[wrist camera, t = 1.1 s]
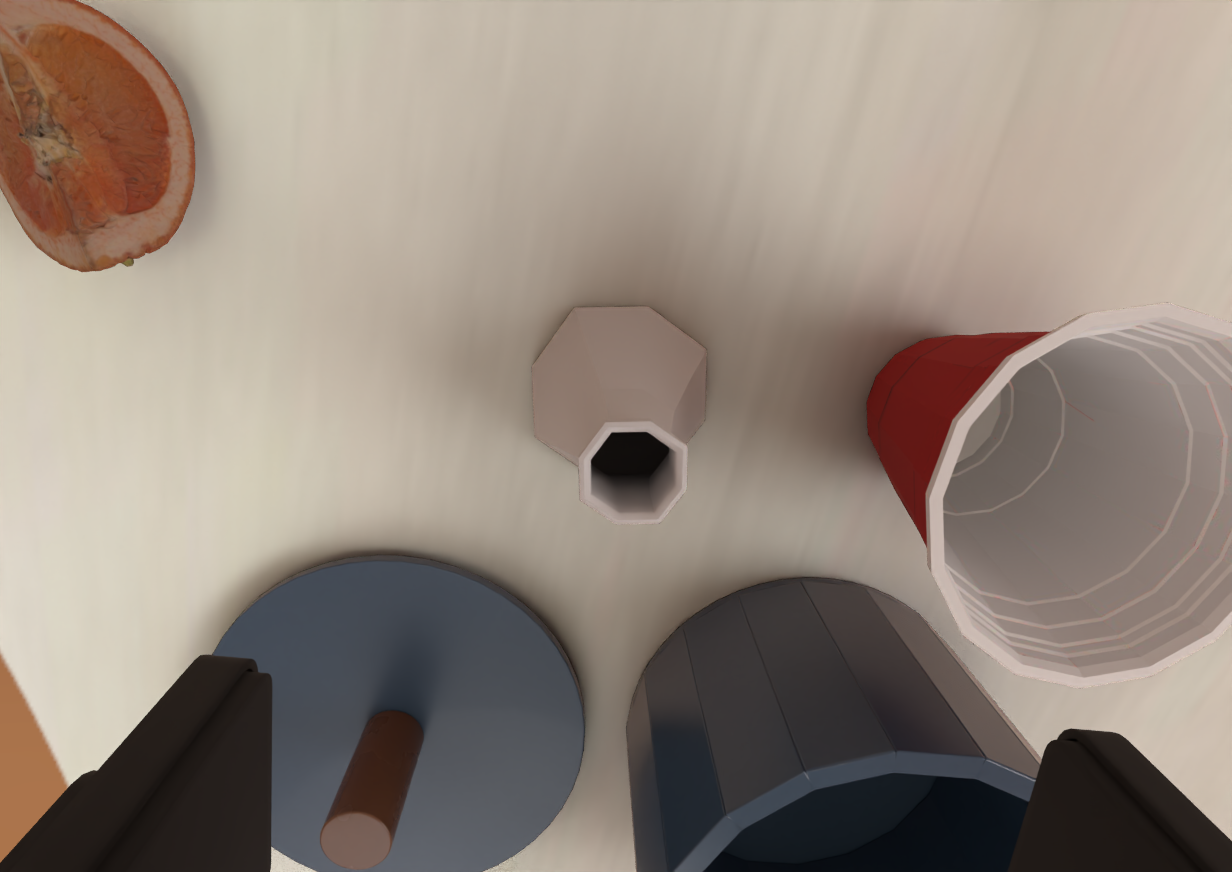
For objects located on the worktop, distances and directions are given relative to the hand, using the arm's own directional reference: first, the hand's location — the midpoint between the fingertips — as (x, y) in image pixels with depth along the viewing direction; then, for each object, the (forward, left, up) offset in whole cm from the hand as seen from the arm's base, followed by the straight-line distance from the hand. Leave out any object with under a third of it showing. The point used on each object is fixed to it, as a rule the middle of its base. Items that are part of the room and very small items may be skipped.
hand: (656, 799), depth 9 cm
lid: (+16, -8, -23) cm, 29 cm away
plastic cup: (-1, +13, -23) cm, 27 cm away
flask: (0, 0, -23) cm, 23 cm away
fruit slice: (-7, -19, -23) cm, 31 cm away
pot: (+15, +10, -23) cm, 30 cm away
